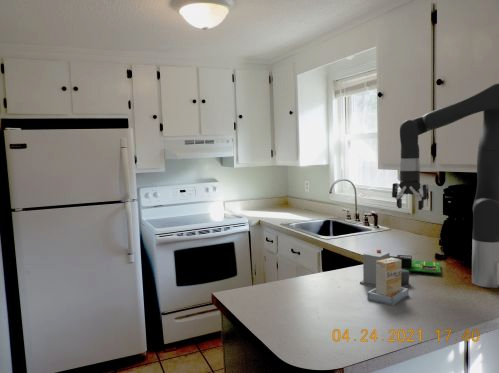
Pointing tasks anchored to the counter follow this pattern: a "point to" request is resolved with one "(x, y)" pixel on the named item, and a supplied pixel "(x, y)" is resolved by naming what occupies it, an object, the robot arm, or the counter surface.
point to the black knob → (404, 277)
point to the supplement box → (388, 277)
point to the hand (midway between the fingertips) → (409, 208)
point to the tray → (385, 299)
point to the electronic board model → (417, 265)
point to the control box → (372, 266)
